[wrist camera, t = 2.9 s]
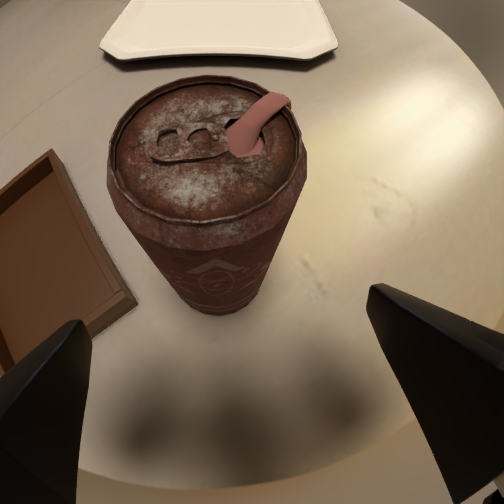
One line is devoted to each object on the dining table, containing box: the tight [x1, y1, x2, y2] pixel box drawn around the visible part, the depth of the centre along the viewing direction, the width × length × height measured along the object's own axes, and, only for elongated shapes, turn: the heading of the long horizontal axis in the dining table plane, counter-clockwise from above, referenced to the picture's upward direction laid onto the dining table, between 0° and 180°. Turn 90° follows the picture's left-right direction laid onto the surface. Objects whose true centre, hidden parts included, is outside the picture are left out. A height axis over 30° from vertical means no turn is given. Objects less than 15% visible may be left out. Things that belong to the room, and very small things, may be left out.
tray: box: [0, 148, 138, 376], centre depth 19 cm, size 15×12×3 cm
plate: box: [99, 0, 338, 62], centre depth 32 cm, size 29×29×2 cm
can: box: [107, 75, 307, 315], centre depth 14 cm, size 6×6×14 cm
